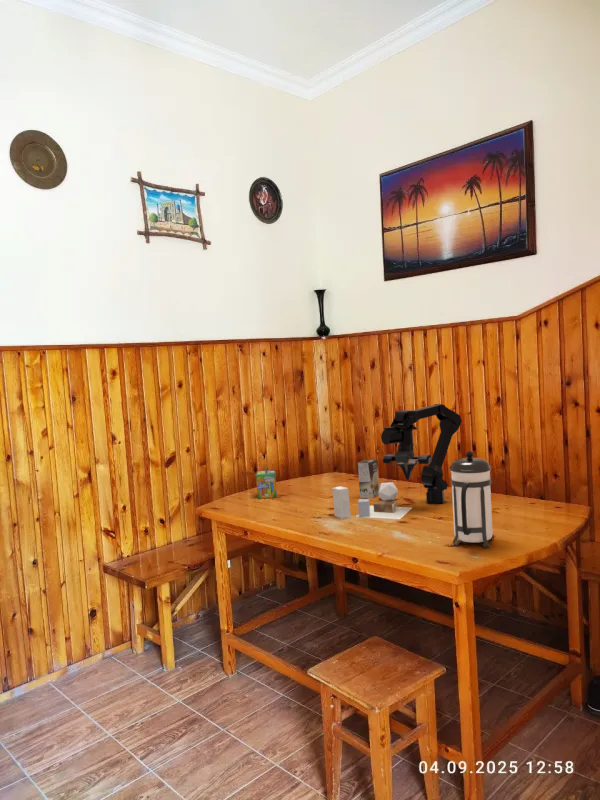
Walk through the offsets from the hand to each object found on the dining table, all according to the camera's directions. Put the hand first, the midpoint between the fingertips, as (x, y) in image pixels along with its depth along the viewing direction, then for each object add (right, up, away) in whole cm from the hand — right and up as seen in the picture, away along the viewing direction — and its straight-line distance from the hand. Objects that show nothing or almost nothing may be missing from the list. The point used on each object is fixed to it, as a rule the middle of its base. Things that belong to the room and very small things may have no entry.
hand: (408, 480), depth 242 cm
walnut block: (-6, -10, -3) cm, 12 cm away
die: (-5, -12, +18) cm, 22 cm away
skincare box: (-27, -14, -6) cm, 31 cm away
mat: (-10, -13, -3) cm, 16 cm away
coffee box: (-12, -11, +29) cm, 34 cm away
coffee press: (+13, -14, -47) cm, 51 cm away
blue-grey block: (-18, -13, -6) cm, 23 cm away
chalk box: (-59, -14, +42) cm, 74 cm away
